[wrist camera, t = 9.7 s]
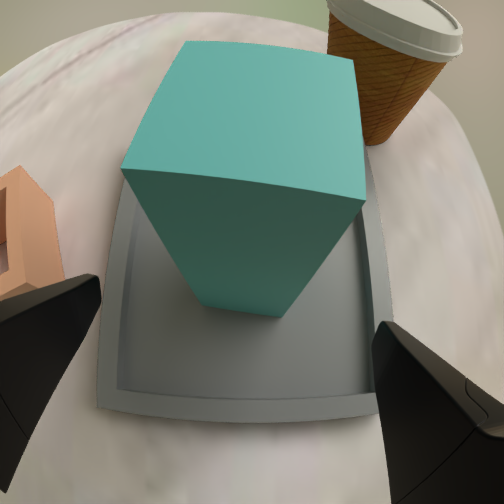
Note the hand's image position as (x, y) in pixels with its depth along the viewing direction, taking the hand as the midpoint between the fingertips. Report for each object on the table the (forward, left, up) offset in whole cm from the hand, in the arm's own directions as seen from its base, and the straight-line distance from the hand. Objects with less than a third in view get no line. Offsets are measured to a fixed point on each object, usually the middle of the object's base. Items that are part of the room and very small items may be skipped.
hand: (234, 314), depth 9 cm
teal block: (+4, -1, -8) cm, 8 cm away
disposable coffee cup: (+18, -10, -9) cm, 22 cm away
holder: (+4, +16, -9) cm, 19 cm away
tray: (+5, -1, -9) cm, 10 cm away
